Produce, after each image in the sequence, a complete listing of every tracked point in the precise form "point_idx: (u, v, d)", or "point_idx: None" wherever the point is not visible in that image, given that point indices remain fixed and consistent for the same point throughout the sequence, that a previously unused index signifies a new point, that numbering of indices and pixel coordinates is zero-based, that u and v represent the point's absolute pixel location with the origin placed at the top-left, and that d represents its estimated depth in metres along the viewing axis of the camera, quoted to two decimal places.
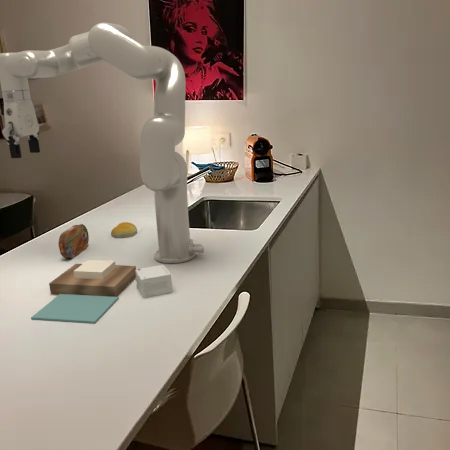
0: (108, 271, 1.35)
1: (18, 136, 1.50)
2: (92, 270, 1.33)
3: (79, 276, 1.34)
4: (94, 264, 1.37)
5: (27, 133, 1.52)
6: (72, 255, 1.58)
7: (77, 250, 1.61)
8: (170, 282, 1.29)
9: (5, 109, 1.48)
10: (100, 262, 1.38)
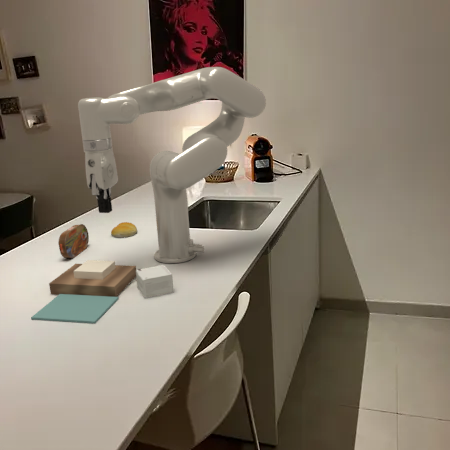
0: (108, 271, 1.35)
1: (105, 190, 1.39)
2: (92, 270, 1.33)
3: (79, 276, 1.34)
4: (94, 264, 1.37)
5: (109, 185, 1.38)
6: (72, 255, 1.58)
7: (77, 250, 1.61)
8: (171, 282, 1.29)
9: (87, 160, 1.34)
10: (100, 262, 1.38)
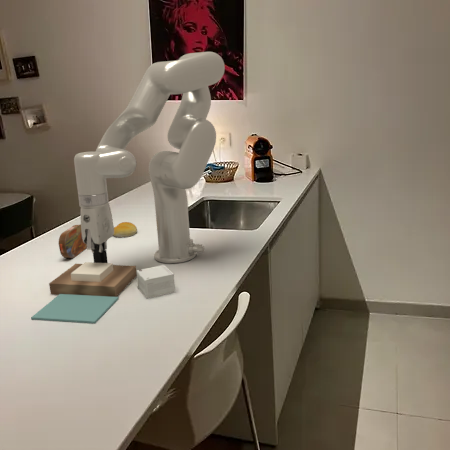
0: (106, 273, 1.34)
1: (100, 244, 1.37)
2: (89, 273, 1.32)
3: (76, 278, 1.32)
4: (92, 267, 1.35)
5: (104, 239, 1.36)
6: (72, 255, 1.58)
7: (77, 250, 1.61)
8: (173, 282, 1.29)
9: (82, 215, 1.32)
10: (97, 265, 1.37)
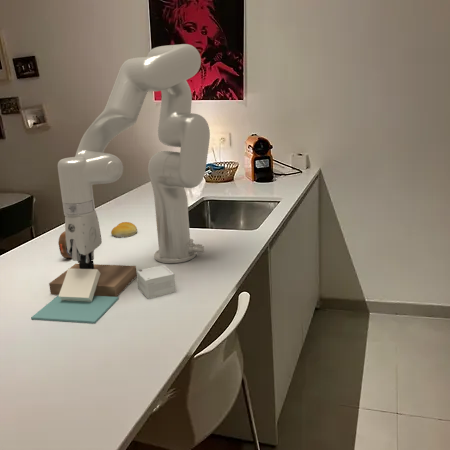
0: (94, 287, 1.27)
1: (86, 254, 1.29)
2: (77, 294, 1.25)
3: (66, 299, 1.26)
4: (77, 280, 1.28)
5: (91, 249, 1.29)
6: None
7: None
8: (173, 282, 1.29)
9: (67, 224, 1.25)
10: (82, 274, 1.28)
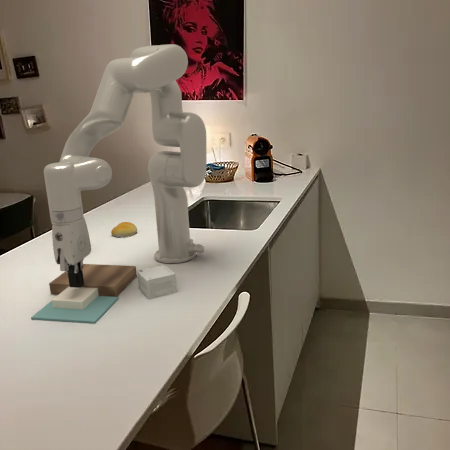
0: (90, 300, 1.25)
1: (75, 263, 1.24)
2: (71, 299, 1.22)
3: (58, 306, 1.23)
4: (75, 292, 1.26)
5: (80, 258, 1.23)
6: None
7: None
8: (174, 282, 1.29)
9: (54, 233, 1.19)
10: (81, 290, 1.28)
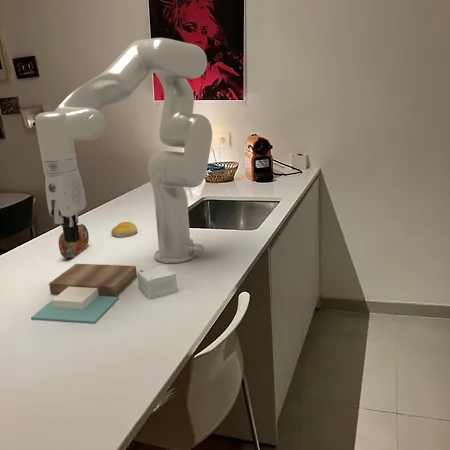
0: (90, 300, 1.25)
1: (70, 217, 1.21)
2: (71, 299, 1.22)
3: (58, 306, 1.23)
4: (75, 292, 1.26)
5: (75, 211, 1.20)
6: (72, 255, 1.58)
7: (77, 250, 1.61)
8: (175, 281, 1.29)
9: (47, 184, 1.16)
10: (81, 290, 1.28)
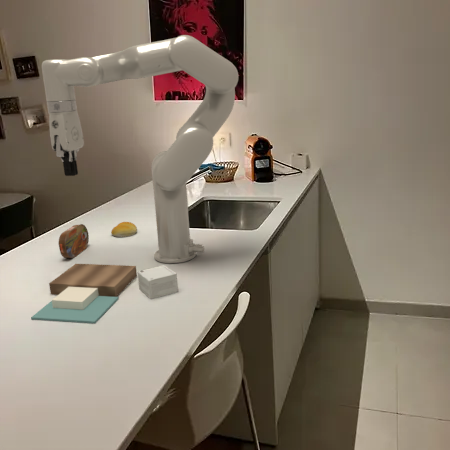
0: (90, 300, 1.25)
1: (70, 152, 1.40)
2: (71, 299, 1.22)
3: (58, 306, 1.23)
4: (75, 292, 1.26)
5: (74, 147, 1.39)
6: (72, 255, 1.58)
7: (77, 250, 1.61)
8: (176, 281, 1.29)
9: (51, 121, 1.35)
10: (81, 290, 1.28)
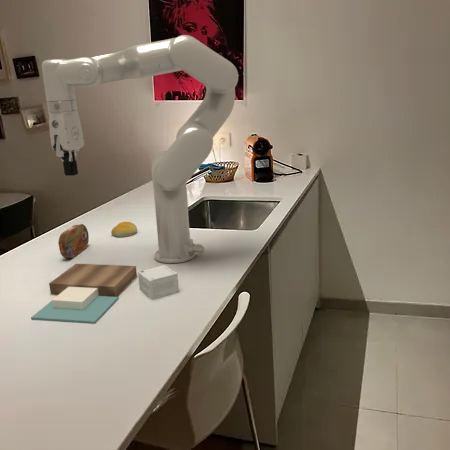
0: (90, 300, 1.25)
1: (70, 152, 1.40)
2: (71, 299, 1.22)
3: (58, 306, 1.23)
4: (75, 292, 1.26)
5: (74, 147, 1.39)
6: (72, 255, 1.58)
7: (77, 250, 1.61)
8: (177, 281, 1.29)
9: (50, 121, 1.35)
10: (81, 290, 1.28)
